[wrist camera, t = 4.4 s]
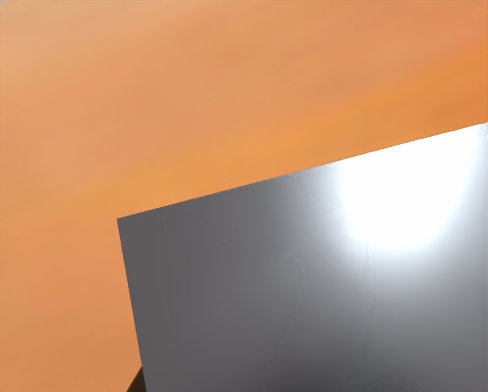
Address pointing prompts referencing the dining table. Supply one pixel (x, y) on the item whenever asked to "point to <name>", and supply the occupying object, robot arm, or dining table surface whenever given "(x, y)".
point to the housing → (322, 277)
